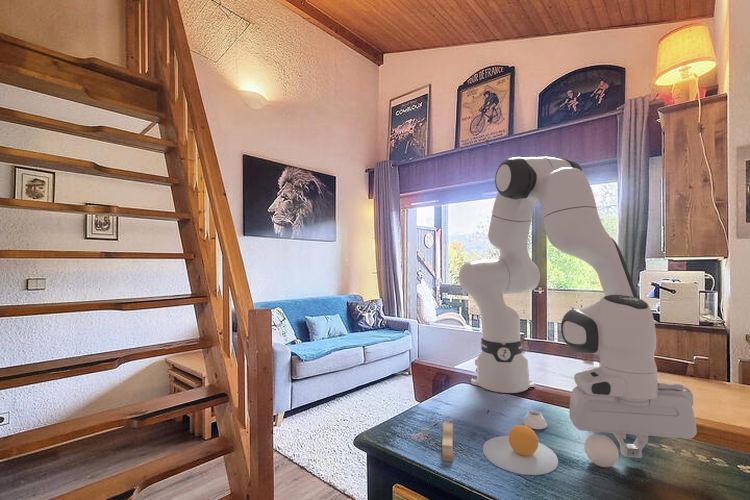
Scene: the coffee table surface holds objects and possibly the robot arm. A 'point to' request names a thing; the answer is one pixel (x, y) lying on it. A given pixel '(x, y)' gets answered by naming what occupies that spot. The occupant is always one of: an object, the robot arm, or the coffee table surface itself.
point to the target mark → (519, 457)
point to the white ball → (601, 450)
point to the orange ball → (523, 440)
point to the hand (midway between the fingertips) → (631, 455)
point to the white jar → (535, 420)
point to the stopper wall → (447, 442)
